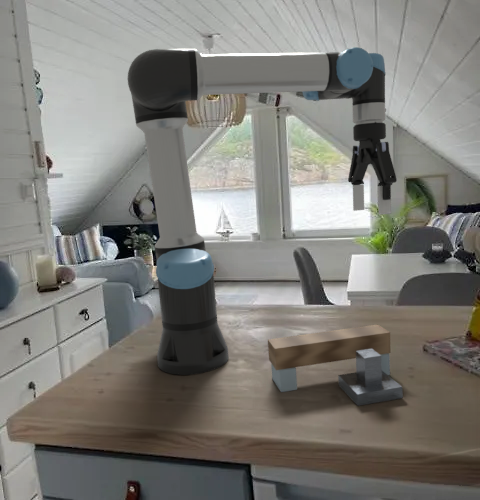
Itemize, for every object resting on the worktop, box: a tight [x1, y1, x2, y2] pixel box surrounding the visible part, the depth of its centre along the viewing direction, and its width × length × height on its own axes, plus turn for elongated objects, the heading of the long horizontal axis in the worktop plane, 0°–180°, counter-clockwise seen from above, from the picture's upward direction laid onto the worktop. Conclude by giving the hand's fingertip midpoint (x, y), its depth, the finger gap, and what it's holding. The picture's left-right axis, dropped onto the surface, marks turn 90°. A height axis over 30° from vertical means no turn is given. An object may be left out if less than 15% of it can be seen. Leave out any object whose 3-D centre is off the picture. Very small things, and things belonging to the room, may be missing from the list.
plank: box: [267, 324, 392, 370], centre depth 91 cm, size 22×5×4 cm, turn 101°
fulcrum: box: [338, 349, 404, 407], centre depth 84 cm, size 8×8×7 cm
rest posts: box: [270, 353, 391, 393], centre depth 92 cm, size 21×6×4 cm, turn 101°
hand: (371, 212), depth 120 cm, fingers open, 13 cm apart
